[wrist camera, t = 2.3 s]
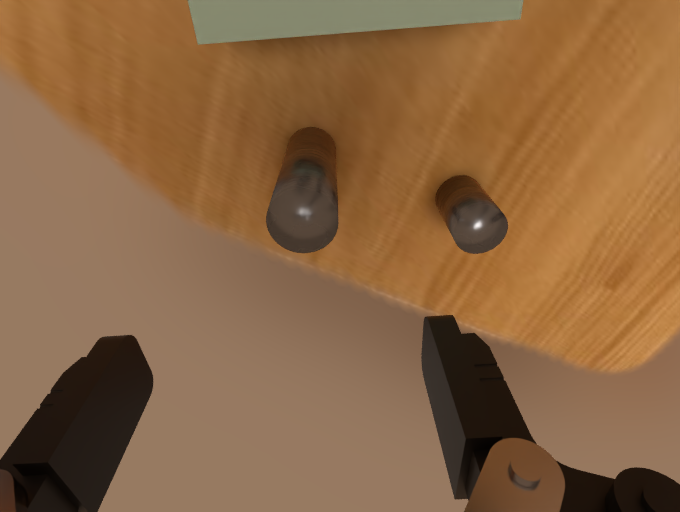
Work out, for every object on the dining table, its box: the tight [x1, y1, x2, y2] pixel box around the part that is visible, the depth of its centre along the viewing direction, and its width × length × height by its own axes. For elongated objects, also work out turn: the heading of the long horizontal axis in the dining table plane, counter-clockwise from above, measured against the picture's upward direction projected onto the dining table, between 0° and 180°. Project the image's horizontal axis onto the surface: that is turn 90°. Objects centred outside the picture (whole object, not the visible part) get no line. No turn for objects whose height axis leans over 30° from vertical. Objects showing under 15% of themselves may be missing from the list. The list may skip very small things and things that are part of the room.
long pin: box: [266, 127, 338, 253], centre depth 22 cm, size 3×3×10 cm
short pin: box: [436, 176, 508, 254], centre depth 26 cm, size 3×3×5 cm
